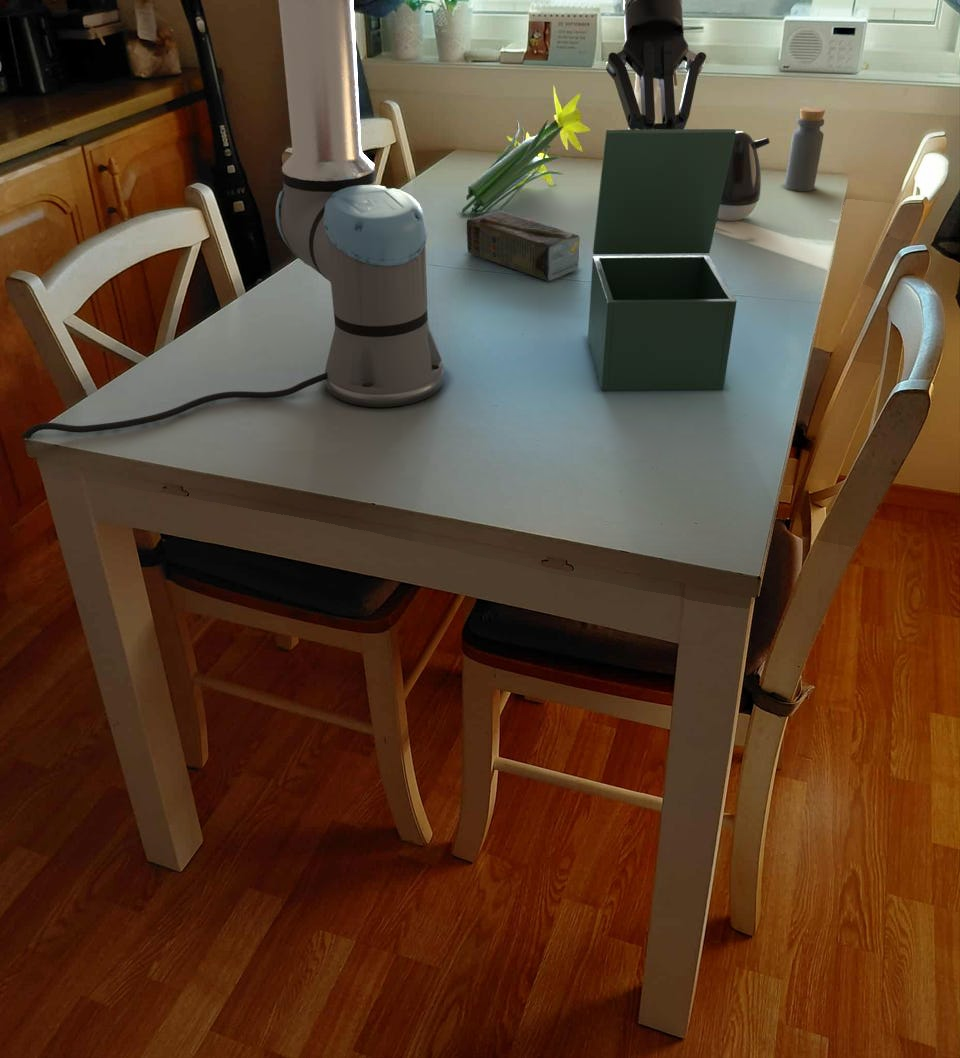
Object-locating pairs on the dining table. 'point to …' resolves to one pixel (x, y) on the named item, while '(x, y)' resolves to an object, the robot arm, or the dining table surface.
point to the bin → (659, 323)
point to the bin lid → (661, 190)
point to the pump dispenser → (742, 179)
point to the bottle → (805, 150)
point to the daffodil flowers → (525, 159)
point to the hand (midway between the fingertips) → (661, 176)
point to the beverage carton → (523, 244)
